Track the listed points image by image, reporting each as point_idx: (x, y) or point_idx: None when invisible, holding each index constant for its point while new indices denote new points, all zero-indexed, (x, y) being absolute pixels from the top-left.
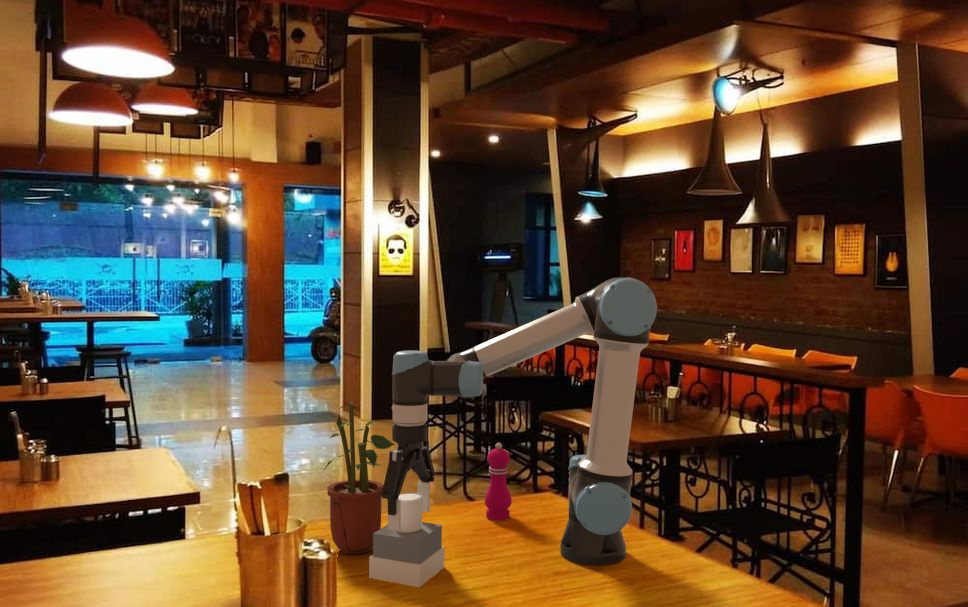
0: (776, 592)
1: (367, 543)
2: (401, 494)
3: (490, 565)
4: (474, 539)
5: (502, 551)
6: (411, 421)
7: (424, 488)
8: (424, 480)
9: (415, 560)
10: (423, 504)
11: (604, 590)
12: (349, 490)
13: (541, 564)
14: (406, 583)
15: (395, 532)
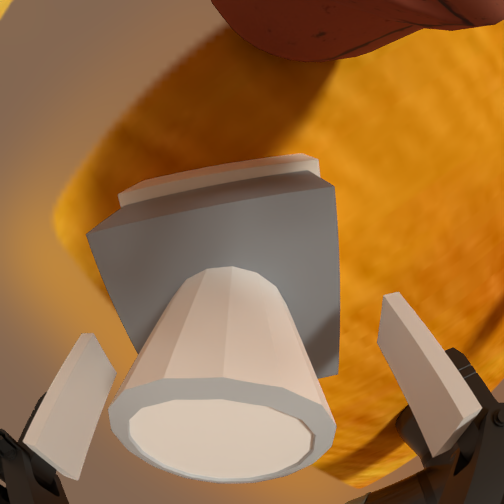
0: (366, 484)
1: (274, 54)
2: (255, 405)
3: (361, 353)
4: (476, 251)
5: (431, 329)
6: None
7: (428, 420)
8: (467, 439)
9: None
10: (393, 347)
11: (325, 455)
12: None
13: (388, 394)
14: None
15: (156, 303)
